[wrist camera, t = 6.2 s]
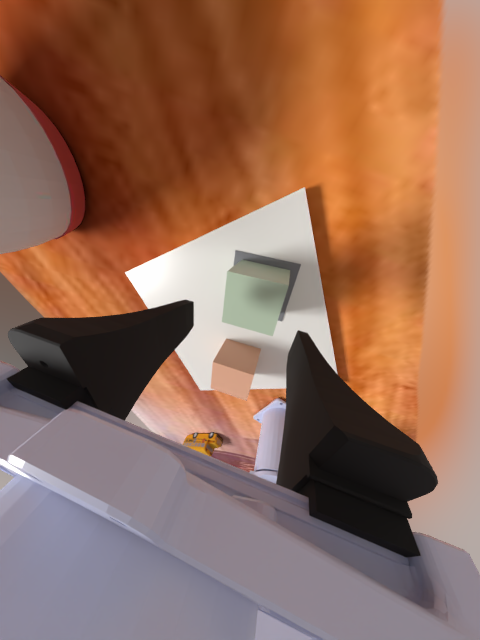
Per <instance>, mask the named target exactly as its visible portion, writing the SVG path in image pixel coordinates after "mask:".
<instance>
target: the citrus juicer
mask: <svg viewBox="0 0 480 640" xmlns="http://www.w3.org/2000/svg"><path fill="white" fill-rule="evenodd" d="M84 212H85V195H84V189H83V184H82V180H81V177H80V173H79V170H78V168H77V165H76V163H75V160H74V158H73V156H72V154H71V152H70V150H69V148H68V146H67V144H66V142H65V141H64V139H63V137H62V136H61V134H60V133H59V131H58V130H57V128H56V127H55V126H54V124H53V123H52V122H51V121H50V119H49V118H48V117H47V116H46V115H45V113H44V112H43V111H41V110H40V109H39V108H38V107H37V106H36V105H35V104H34V103H33V102H32V101H31V100H30V99H28V98H27V97H26V96H25V95H24V94H22V93H21V92H20V91H19V90H18V89H17V88H15V87H14V86H13V85H12V84H10V83H9V82H8V81H7V80H5V79H4V78H3V77H2V76H0V254H3V253H9V252H15V251H19V250H22V249H26V248H30V247H33V246H37V245H40V244H42V243H45V242H47V241H50V240H52V239H58V238H60V237H62V236H64V235H66V234H67V233H69V232H71V231H72V230H74V229H76V228H77V227H78V226H79V225H80V224H81V222H82V219H83V217H84Z"/></svg>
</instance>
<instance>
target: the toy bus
mask: <svg viewBox="0 0 480 640" xmlns="http://www.w3.org/2000/svg"><path fill="white" fill-rule="evenodd" d="M222 443H223V440H222V439H221V438H220V437H219V436H218V435H217V434H216V433H214V432H211V433H210V434H198V433H194V434H191V435H188V436H187V437H186V438H185V441H184V443H183V445H184V446H186V447H189V448H191V449H193V450H196V451H198V452H201V453H203V454H205V455H208V456H211V455H212V454H213V451H214V448H218V447H221V446H222Z"/></svg>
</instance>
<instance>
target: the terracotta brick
mask: <svg viewBox="0 0 480 640" xmlns="http://www.w3.org/2000/svg"><path fill="white" fill-rule="evenodd" d="M260 351H261V349H260V348H256V347H253V346H250V345H246V344H243V343H239V342H236V341H233V340H229V339H226V340H225V341H224V343H223V345H222V347H221V348H220V350H219V352H218V354H217V355H216V357H215V359H214V361H213V364H212V377H211V389H214V390H217V391H220V392H223V393H226V394H229V395H231V396H234V397H237V398H240V399H243V400H246V401H247V398H248V395H249V391H250V388H251V384H252V381H253V377H254V374H255V370H256V366H257V362H258V358H259V355H260Z"/></svg>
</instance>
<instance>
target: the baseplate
mask: <svg viewBox="0 0 480 640" xmlns="http://www.w3.org/2000/svg"><path fill="white" fill-rule="evenodd" d="M241 260H246V261H251V262H255V263H260V264H264V265H269V266H273V267H278V268H283V269H287V270H290V278H289V286H288V290H287V293H286V296H285V299H284V302H283V305H282V308H281V312H280V315H279V318H278V321H277V324H276V327H275V330H274V334H273V336H270V335H266V334H262V333H259V332H255V331H252V330H248V329H245V328H241V327H238V326H234V325H231V324H227V323H224V322H222V316H223V307H224V297H225V287H226V278H227V271H228V270H229V269H231V268H232V267H233V266H234V265H236V264H237V263H238V262H240V261H241ZM125 273H126V275H127V276H128V278H129V279H130V281H131V283H132V284H133V286H134V287H135V289H136V290H137V292H138V293H139V295H140V297H141V298H142V300H143V301H144V303H145V304H146V306H147V307H148V309H151V308H155V307H159V306H162V305H166V304H170V303H173V302H177V301H181V300H189V301H193V302H194V326H193V328H192V329H191V331H190V332H189V334H188V335H187V337H186V338H185V339H184V340H183V341H182V342H181V343H180V344H179V346H178V347H177V348H176V349H175V351H176V353H177V354H178V356H179V357H180V359H181V360H182V362H183V363H184V365H185V367H186V368H187V370H188V371H189V373H190V374H191V376H192V377H193V379H194V381H195V382H196V384H197V385H198V387H199V388H200V390H214V389H211V377H212V364H213V361H214V359H215V357H216V355H217V354H218V352H219V350H220V348H221V347H222V345H223V343H224V341H225V340H226V339H229V340H233V341H236V342H239V343H243V344H246V345H250V346H253V347H256V348H260V349H261V351H260V355H259V358H258V362H257V366H256V370H255V374H254V377H253V381H252V384H251V388H250V389H277V388H286V365H287V358H288V353H289V350H290V348H291V345H292V343H293V341H294V338H295V336H296V333H297V331H298V330H299V331H303V332H306V333H308V334H309V336H310V337H311V339H312V340H313V342H314V343H315V345H316V347H317V348H318V350H319V351H320V353H321V354H322V355H323V357H324V358H325V360H326V361H327V362H328V363H329V365H330V366H331V367H332V369H333V370H334V371H335V372H336V373H337V369H336V363H335V357H334V352H333V346H332V340H331V334H330V329H329V323H328V317H327V311H326V306H325V300H324V294H323V289H322V283H321V277H320V271H319V266H318V260H317V254H316V248H315V243H314V237H313V231H312V226H311V220H310V214H309V208H308V203H307V197H306V191H305V187H304V188H302V189H300V190H298V191H296V192H294V193H292V194H289V195H287V196H285V197H283V198H281V199H279V200H277V201H275V202H273V203H271V204H268V205H266V206H264V207H262V208H260V209H258V210H256V211H254V212H252V213H249V214H247V215H245V216H243V217H241V218H239V219H237V220H235V221H233V222H231V223H228V224H226V225H224V226H222V227H220V228H218V229H216V230H214V231H212V232H210V233H207V234H205V235H203V236H201V237H199V238H197V239H195V240H193V241H191V242H189V243H186V244H184V245H182V246H180V247H178V248H176V249H174V250H172V251H170V252H168V253H165V254H163V255H161V256H159V257H157V258H155V259H153V260H151V261H149V262H146V263H144V264H142V265H140V266H138V267H136V268H134V269H132V270H130V271H128V272H125Z"/></svg>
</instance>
